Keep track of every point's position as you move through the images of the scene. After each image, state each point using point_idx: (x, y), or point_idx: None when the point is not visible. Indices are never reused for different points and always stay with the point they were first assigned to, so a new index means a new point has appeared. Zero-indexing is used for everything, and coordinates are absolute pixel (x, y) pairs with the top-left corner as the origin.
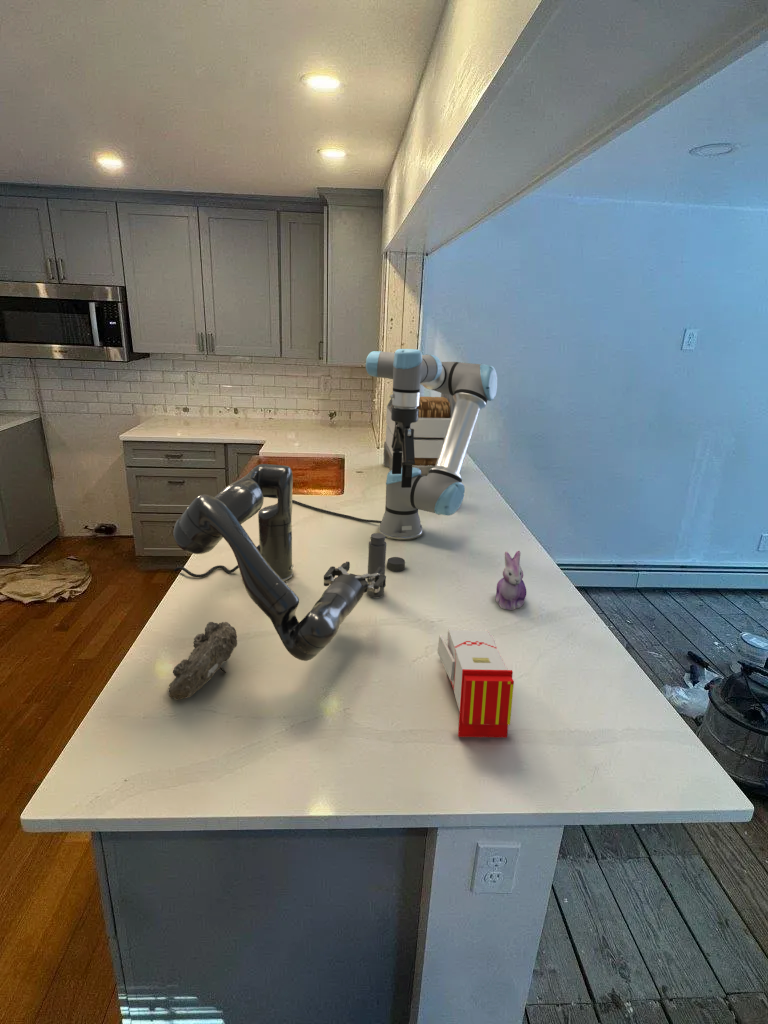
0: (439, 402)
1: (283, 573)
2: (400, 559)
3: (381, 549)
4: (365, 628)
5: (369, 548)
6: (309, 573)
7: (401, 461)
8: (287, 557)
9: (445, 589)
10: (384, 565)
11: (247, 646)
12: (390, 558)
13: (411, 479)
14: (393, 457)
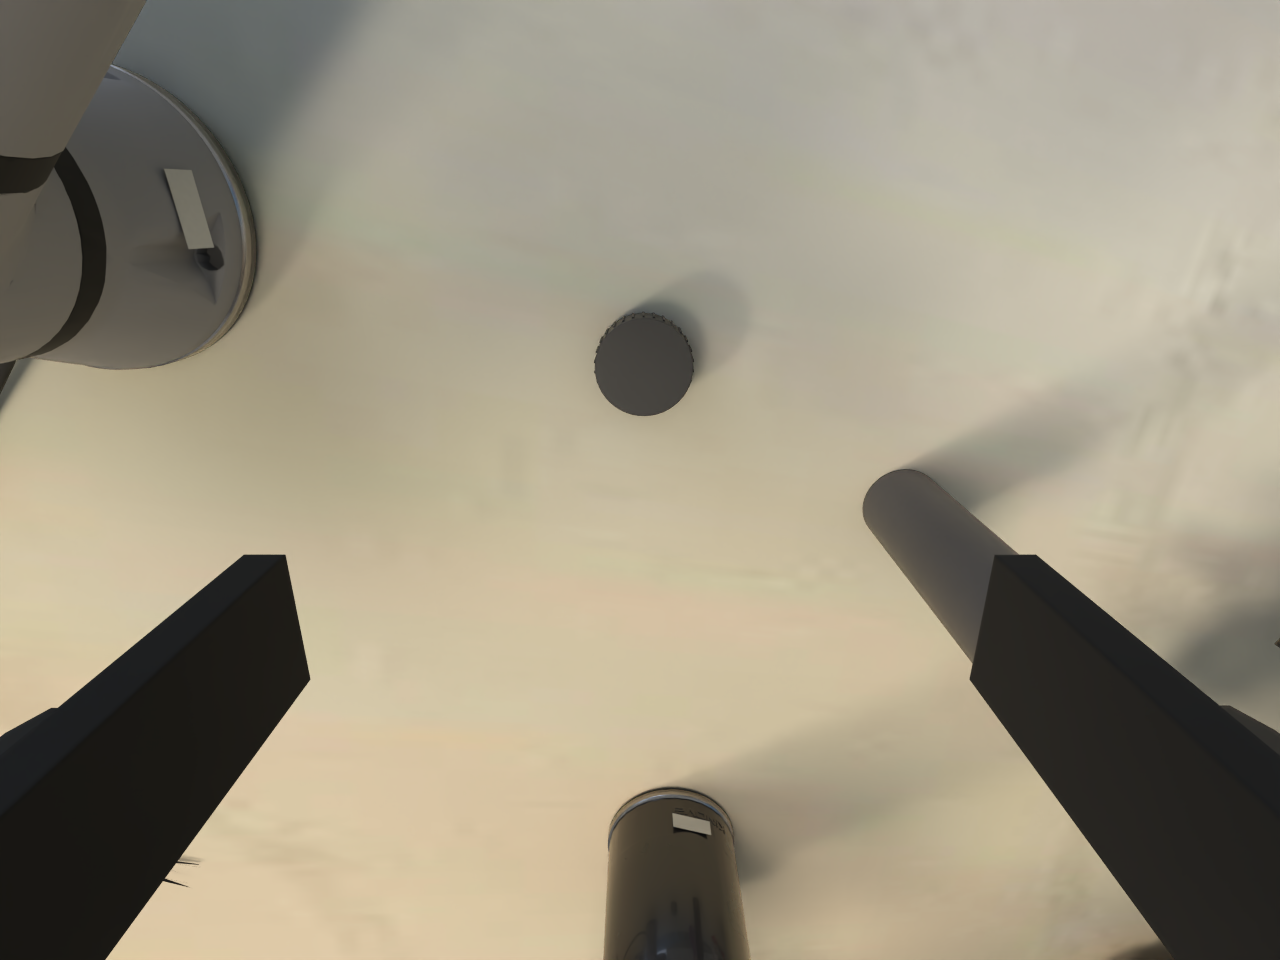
0: None
1: (730, 844)
2: (632, 341)
3: None
4: (1159, 582)
5: None
6: (663, 731)
7: (137, 696)
8: (727, 890)
9: (939, 139)
10: (1004, 542)
11: (1124, 898)
12: (613, 395)
13: (1124, 629)
14: (121, 928)
